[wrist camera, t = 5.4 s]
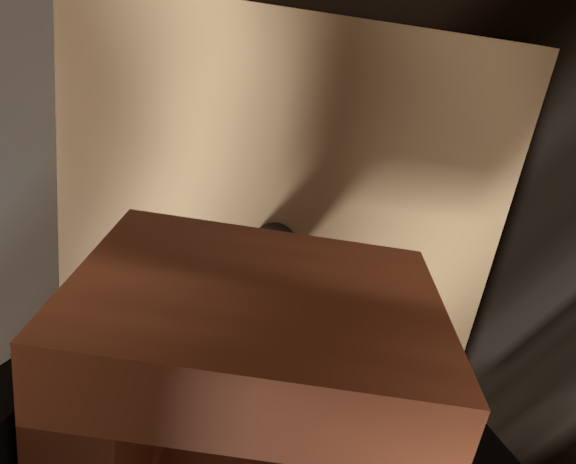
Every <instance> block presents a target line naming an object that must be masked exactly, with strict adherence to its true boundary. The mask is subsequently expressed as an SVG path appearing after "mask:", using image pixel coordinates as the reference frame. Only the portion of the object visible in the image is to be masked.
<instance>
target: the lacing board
mask: <svg viewBox="0 0 576 464" xmlns="http://www.w3.org/2000/svg"><path fill="white" fill-rule="evenodd" d="M53 7H54V55H55V103H56V151H57V199H58V247H59V288H60V287H61V285H62V284H63V283H64V282H65V281H66V280H67V279H68V278H69V277H70V275H71V274H72V273H73V272H74V271H75V270H76V269H77V268H78V266H79V265H80V264H81V263H82V262H83V261H84V260H85V259H86V257H87V256H88V255H89V254H90V253H91V252H92V251H93V250H94V248H95V247H96V246H97V245H98V244H99V243H100V242H101V241H102V239H103V238H104V237H105V236H106V235H107V234H108V233H109V232H110V231H111V229H112V228H113V227H114V226H115V225H116V224H117V223H118V222H119V220H120V219H121V218H122V217H123V216H124V215H125V214H126V213H127V211H128V210H129V209H133V210H140V211H147V212H154V213H161V214H167V215H174V216H181V217H188V218H195V219H201V220H208V221H215V222H222V223H229V224H236V225H242V226H249V227H256V228H263V229H270V230H277V231H283V232H290V233H297V234H304V235H311V236H318V237H324V238H331V239H338V240H345V241H352V242H359V243H365V244H372V245H379V246H386V247H393V248H400V249H406V250H413V251H420V252H421V253H422V256H423V258H424V260H425V263H426V265H427V267H428V269H429V272H430V274H431V276H432V279H433V281H434V283H435V285H436V288H437V290H438V292H439V295H440V297H441V299H442V301H443V304H444V306H445V308H446V311H447V313H448V315H449V317H450V320H451V322H452V324H453V327H454V329H455V331H456V333H457V336H458V338H459V340H460V343H461V345H462V347H463V349H464V351H465V348H466V345H467V341H468V338H469V335H470V332H471V329H472V326H473V322H474V319H475V316H476V313H477V310H478V307H479V303H480V300H481V297H482V294H483V291H484V288H485V284H486V281H487V278H488V275H489V272H490V269H491V265H492V262H493V259H494V256H495V253H496V250H497V246H498V243H499V240H500V237H501V234H502V230H503V227H504V224H505V221H506V218H507V215H508V211H509V208H510V205H511V202H512V199H513V196H514V192H515V189H516V186H517V183H518V180H519V177H520V173H521V170H522V167H523V164H524V161H525V158H526V154H527V151H528V148H529V145H530V142H531V139H532V135H533V132H534V129H535V126H536V123H537V120H538V116H539V113H540V110H541V107H542V104H543V101H544V97H545V94H546V91H547V88H548V85H549V82H550V78H551V75H552V72H553V69H554V66H555V63H556V59H557V56H558V53H559V50H560V49H558V48H552V47H547V46H541V45H535V44H529V43H522V42H516V41H509V40H503V39H496V38H490V37H483V36H477V35H470V34H463V33H457V32H450V31H444V30H437V29H431V28H424V27H418V26H411V25H405V24H398V23H392V22H385V21H379V20H372V19H366V18H359V17H353V16H346V15H339V14H333V13H326V12H320V11H313V10H307V9H300V8H294V7H287V6H281V5H274V4H268V3H261V2H255V1H248V0H53Z"/></svg>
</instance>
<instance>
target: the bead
mask: <svg viewBox="0 0 576 464" xmlns="http://www.w3.org/2000/svg"><path fill="white" fill-rule="evenodd" d="M10 345H11V361H12V377H13V393H14V409H15V425H16V441H17V456H18V464H472V462H473V459H474V456H475V453H476V450H477V448H478V445H479V442H480V439H481V436H482V434H483V431H484V428H485V425H486V422H487V420H488V417H489V414H490V409H489V406H488V404H487V402H486V400H485V397H484V395H483V393H482V390H481V388H480V386H479V384H478V381H477V379H476V377H475V375H474V372H473V370H472V368H471V365H470V363H469V361H468V359H467V356H466V354H465V352H464V349H463V347H462V345H461V343H460V340H459V338H458V336H457V333H456V331H455V329H454V327H453V324H452V322H451V320H450V317H449V315H448V313H447V311H446V308H445V306H444V304H443V301H442V299H441V297H440V295H439V292H438V290H437V288H436V285H435V283H434V281H433V279H432V276H431V274H430V272H429V269H428V267H427V265H426V263H425V260H424V258H423V256H422V253H421V252H420V251H413V250H406V249H400V248H393V247H386V246H379V245H372V244H365V243H359V242H352V241H345V240H338V239H331V238H324V237H318V236H311V235H304V234H297V233H290V232H283V231H277V230H270V229H263V228H256V227H249V226H242V225H236V224H229V223H222V222H215V221H208V220H201V219H195V218H188V217H181V216H174V215H167V214H161V213H154V212H147V211H140V210H133V209H129V210H128V211H127V213H126V214H125V215H124V216H123V217H122V218H121V219H120V220H119V222H118V223H117V224H116V225H115V226H114V227H113V228H112V229H111V231H110V232H109V233H108V234H107V235H106V236H105V237H104V238H103V239H102V241H101V242H100V243H99V244H98V245H97V246H96V247H95V248H94V250H93V251H92V252H91V253H90V254H89V255H88V256H87V257H86V259H85V260H84V261H83V262H82V263H81V264H80V265H79V266H78V268H77V269H76V270H75V271H74V272H73V273H72V274H71V275H70V277H69V278H68V279H67V280H66V281H65V282H64V283H63V284H62V285H61V287H60V288H59V289H58V290H57V291H56V292H55V293H54V294H53V296H52V297H51V298H50V299H49V300H48V301H47V302H46V303H45V305H44V306H43V307H42V308H41V309H40V310H39V311H38V312H37V314H36V315H35V316H34V317H33V318H32V319H31V320H30V321H29V323H28V324H27V325H26V326H25V327H24V328H23V329H22V330H21V332H20V333H19V334H18V335H17V336H16V337H15V338H14V339H13V340H12V342H11V343H10Z"/></svg>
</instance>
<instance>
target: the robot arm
mask: <svg viewBox="0 0 576 464" xmlns="http://www.w3.org/2000/svg"><path fill="white" fill-rule="evenodd" d="M0 464H18V456H17V441H16V425H15V409H14V393H13V377H12V361H11V359H10V360H8V361H6V362H5V363H3V364H2V365H0ZM472 464H521V463H520V462H519V461H518V460H517V459H516V458H515V457H514V455H513V454H512V453H511V452H510V451H509V450H508V449H507V447H506V446H505V445H504V444H503V443H502V442H501V440H500V439H499V438H498V437H497V436H496V435H495V433H494V432H493V431H492V430H491V429H490V428H489V426H488V425H487V424H486V425H485V428H484V431H483V434H482V436H481V439H480V442H479V445H478V448H477V450H476V453H475V456H474V459H473V462H472Z"/></svg>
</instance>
